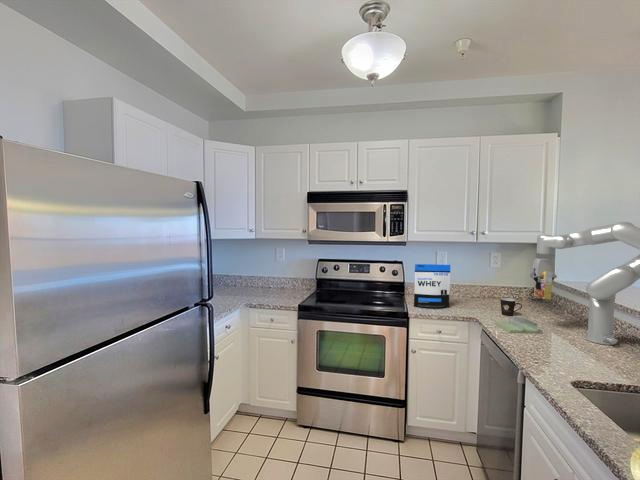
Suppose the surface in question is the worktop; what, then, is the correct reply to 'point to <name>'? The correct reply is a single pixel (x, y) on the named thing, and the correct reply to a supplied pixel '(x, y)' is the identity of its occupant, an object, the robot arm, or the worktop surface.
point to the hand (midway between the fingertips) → (542, 288)
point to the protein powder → (432, 286)
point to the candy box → (544, 286)
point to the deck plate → (513, 329)
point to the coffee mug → (508, 306)
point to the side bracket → (522, 323)
